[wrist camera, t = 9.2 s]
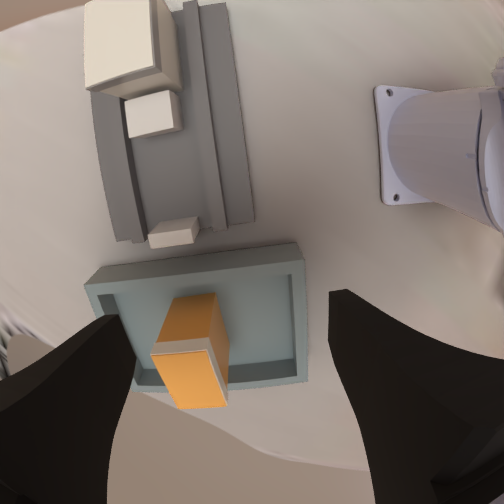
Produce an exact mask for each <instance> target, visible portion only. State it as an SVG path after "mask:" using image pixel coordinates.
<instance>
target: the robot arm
mask: <svg viewBox="0 0 504 504" xmlns="http://www.w3.org/2000/svg"><path fill="white" fill-rule="evenodd" d="M492 77H493V79H494V82H495V85H496V86H485V87H474V88H465V89H456V90H448V91H441V92H435V91H429V90H422V89H415V88H407V87H398V86H388V85H379V86H377V87H375V89H374V96H375V104H376V113H377V122H378V133H379V146H380V162H381V190H382V201H383V203H385V204H386V205H402V204H415V203H428V202H437V203H439V204H442V205H444V206H446V207H449V208H451V209H453V210H456V211H458V212H460V213H462V214H464V215H467V216H469V217H471V218H473V219H475V220H477V221H479V222H481V223H483V224H485V225H487V226H489V227H491V228H493V229H495V230H497V231H499V232H501V233H502V234H503V236H504V57H503V58H499V59H498V61H497V64H496V69H494V70H493V71H492ZM386 90H389V92H390V96H388V95H387V93H386ZM395 194H397V199H396V200H394V199H393V197H394V195H395ZM328 342H329V346H330V350H331V354H332V357H333V361H334V364H335V367H336V369H337V372H338V374H339V377H340V379H341V382H342V384H343V386H344V389H345V391H346V394H347V396H348V398H349V401H350V403H351V406H352V408H353V410H354V413H355V415H356V418H357V421H358V424H359V427H360V431H361V434H362V438H363V442H364V446H365V450H366V455H367V459H368V464H369V468H370V473H371V479H372V484H373V489H374V496H375V503H376V504H504V360H503V359H498V358H493V357H488V356H484V355H480V354H476V353H473V352H469V351H466V350H463V349H460V348H457V347H454V346H451V345H448V344H446V343H443V342H441V341H438V340H436V339H434V338H431V337H429V336H427V335H425V334H422V333H420V332H418V331H416V330H414V329H412V328H411V327H409V326H407V325H405V324H403V323H401V322H399V321H398V320H396V319H394V318H393V317H391V316H389V315H388V314H386V313H384V312H383V311H381V310H379V309H378V308H376V307H375V306H373V305H372V304H370V303H369V302H367V301H365V300H364V299H362V298H361V297H359V296H358V295H356V294H355V293H353V292H351V291H350V290H348V289H343V290H337V291H330V292H329V324H328ZM136 360H137V357H136V355H135V353H134V350H133V348H132V346H131V343H130V341H129V339H128V336H127V334H126V332H125V329H124V327H123V324H122V322H121V319H120V317H119V314H110V315H103V316H101V317H99V318H98V319H96V320H95V321H93V322H92V323H90V324H89V325H87V326H86V327H84V328H83V329H82V330H80V331H79V332H77V333H76V334H75V335H73V336H72V337H70V338H69V339H68V340H66V341H65V342H64V343H62V344H61V345H60V346H58V347H57V348H55V349H54V350H53V351H51V352H49V353H48V354H47V355H45V356H44V357H42V358H41V359H39V360H38V361H36V362H35V363H33V364H31V365H30V366H28V367H26V368H24V369H23V370H21V371H19V372H17V373H15V374H13V375H11V376H9V377H7V378H5V379H3V380H1V381H0V504H107V479H108V469H109V460H110V454H111V448H112V443H113V438H114V434H115V430H116V427H117V424H118V421H119V418H120V415H121V412H122V409H123V406H124V404H125V401H126V398H127V395H128V392H129V389H130V387H131V383H132V380H133V375H134V371H135V366H136Z"/></svg>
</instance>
